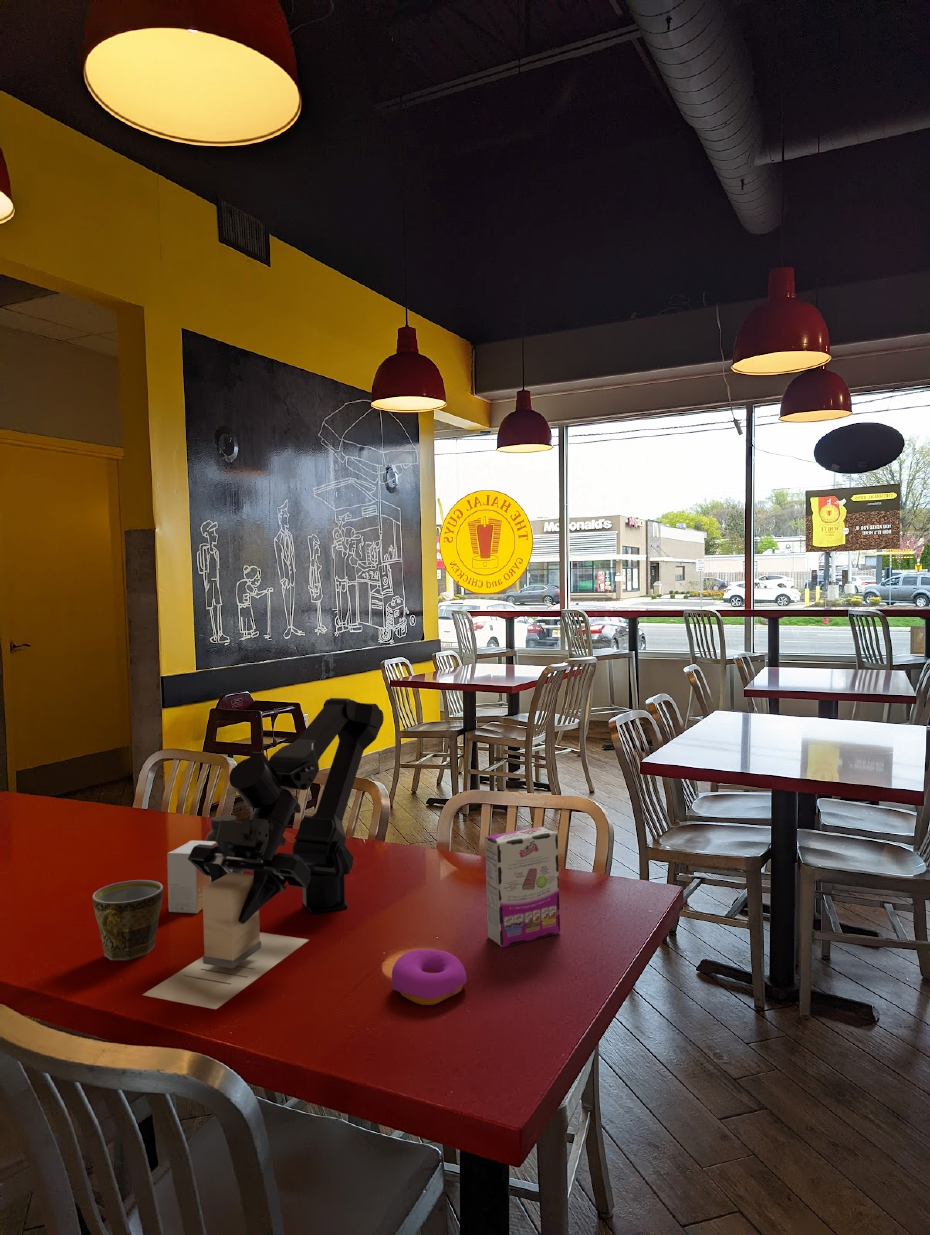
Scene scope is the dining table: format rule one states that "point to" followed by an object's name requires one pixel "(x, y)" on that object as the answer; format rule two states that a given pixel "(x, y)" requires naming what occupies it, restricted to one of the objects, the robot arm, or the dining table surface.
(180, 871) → the small box
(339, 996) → the dining table surface
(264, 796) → the robot arm
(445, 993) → the donut
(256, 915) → the block
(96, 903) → the ceramic cup
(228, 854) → the supplement bottle
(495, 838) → the candy bar box
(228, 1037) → the dining table surface
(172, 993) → the white lined paper sheet
